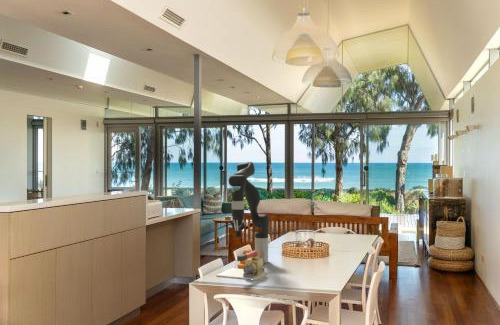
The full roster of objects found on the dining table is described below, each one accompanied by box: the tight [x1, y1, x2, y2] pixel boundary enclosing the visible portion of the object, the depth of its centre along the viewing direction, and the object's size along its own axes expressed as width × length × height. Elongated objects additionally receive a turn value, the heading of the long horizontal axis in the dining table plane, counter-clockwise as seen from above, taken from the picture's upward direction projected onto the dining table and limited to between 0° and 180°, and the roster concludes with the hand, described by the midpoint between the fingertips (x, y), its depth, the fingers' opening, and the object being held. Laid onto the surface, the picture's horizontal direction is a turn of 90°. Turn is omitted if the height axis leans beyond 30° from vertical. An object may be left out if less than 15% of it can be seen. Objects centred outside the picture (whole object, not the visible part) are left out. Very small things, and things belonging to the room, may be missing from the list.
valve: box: [243, 256, 265, 278], centre depth 310 cm, size 22×8×11 cm, turn 158°
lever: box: [236, 250, 258, 262], centre depth 302 cm, size 22×4×3 cm, turn 154°
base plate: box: [216, 267, 270, 281], centre depth 312 cm, size 22×26×1 cm
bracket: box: [237, 248, 252, 269], centre depth 331 cm, size 11×7×12 cm, turn 72°
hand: (238, 236), depth 302 cm, fingers closed
